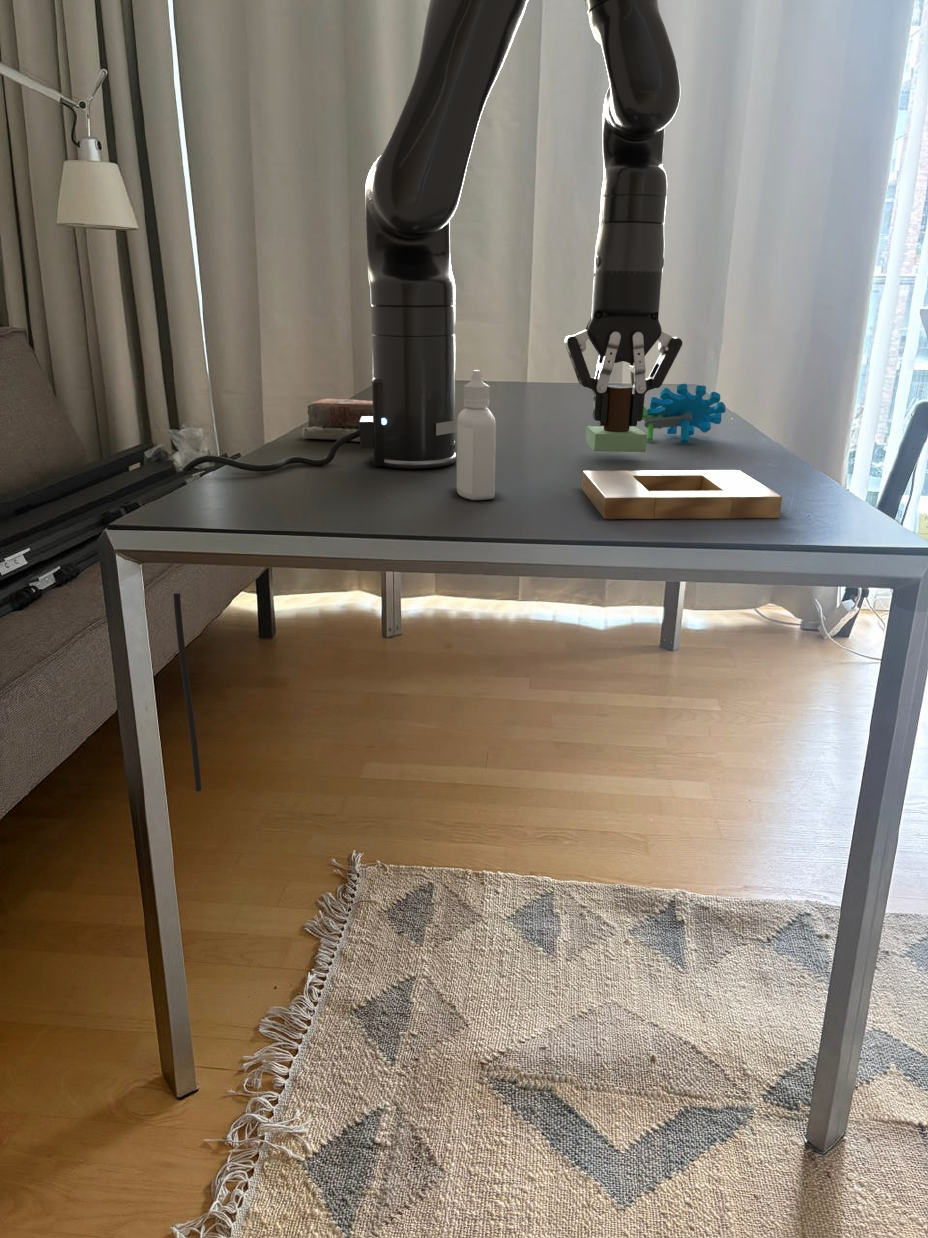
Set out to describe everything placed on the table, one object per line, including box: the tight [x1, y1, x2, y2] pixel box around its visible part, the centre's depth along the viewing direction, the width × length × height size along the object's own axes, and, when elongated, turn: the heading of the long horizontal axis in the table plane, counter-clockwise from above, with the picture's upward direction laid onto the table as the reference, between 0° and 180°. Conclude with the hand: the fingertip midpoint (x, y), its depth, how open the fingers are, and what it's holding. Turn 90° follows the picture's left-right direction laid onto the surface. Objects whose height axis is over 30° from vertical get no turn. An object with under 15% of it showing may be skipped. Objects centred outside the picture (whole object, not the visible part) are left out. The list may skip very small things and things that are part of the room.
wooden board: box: [581, 469, 783, 520], centre depth 89 cm, size 16×12×2 cm
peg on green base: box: [585, 384, 648, 453], centre depth 109 cm, size 6×6×7 cm
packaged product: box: [301, 398, 373, 443], centre depth 124 cm, size 18×5×10 cm
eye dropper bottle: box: [456, 369, 497, 501], centre depth 90 cm, size 4×6×12 cm
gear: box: [641, 383, 726, 445], centre depth 122 cm, size 11×6×10 cm
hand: (616, 424), depth 109 cm, fingers closed on peg on green base, 3 cm apart
